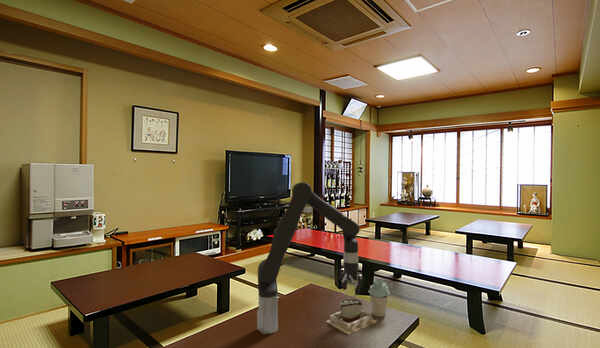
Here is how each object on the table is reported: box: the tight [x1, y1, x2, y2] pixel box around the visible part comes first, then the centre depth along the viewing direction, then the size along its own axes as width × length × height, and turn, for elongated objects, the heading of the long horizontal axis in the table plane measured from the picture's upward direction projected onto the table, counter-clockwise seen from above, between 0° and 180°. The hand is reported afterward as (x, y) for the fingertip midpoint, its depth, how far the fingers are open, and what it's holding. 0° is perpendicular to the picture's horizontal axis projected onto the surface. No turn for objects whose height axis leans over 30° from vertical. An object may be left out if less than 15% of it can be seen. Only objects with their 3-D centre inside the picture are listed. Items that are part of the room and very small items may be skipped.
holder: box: [325, 309, 378, 335], centre depth 159 cm, size 20×16×4 cm
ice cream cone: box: [368, 277, 391, 317], centre depth 168 cm, size 10×11×20 cm
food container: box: [338, 297, 363, 323], centre depth 161 cm, size 12×6×10 cm, turn 105°
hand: (350, 292), depth 159 cm, fingers open, 8 cm apart
